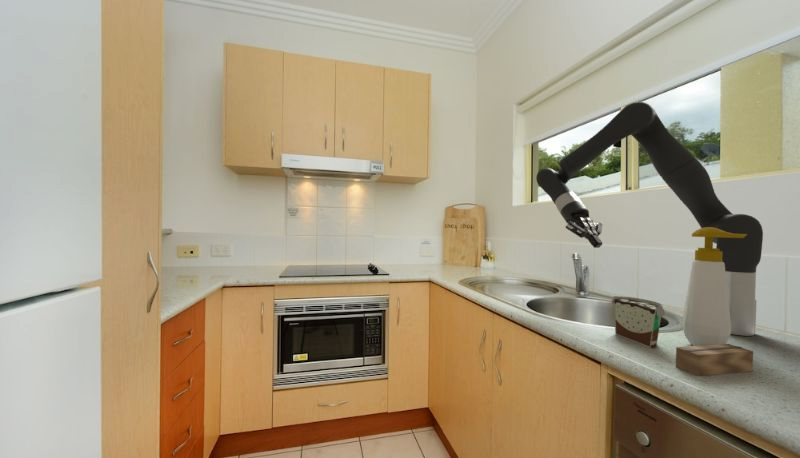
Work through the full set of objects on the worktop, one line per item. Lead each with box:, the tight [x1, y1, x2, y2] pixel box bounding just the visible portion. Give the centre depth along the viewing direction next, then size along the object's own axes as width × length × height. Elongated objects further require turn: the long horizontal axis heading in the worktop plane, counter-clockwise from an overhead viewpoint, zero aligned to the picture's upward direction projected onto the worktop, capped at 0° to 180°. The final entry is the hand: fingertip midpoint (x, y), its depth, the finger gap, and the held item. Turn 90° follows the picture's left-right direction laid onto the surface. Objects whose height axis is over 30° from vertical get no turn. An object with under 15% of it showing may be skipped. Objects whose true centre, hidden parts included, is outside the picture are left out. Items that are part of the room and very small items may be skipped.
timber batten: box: [675, 343, 754, 377], centre depth 63 cm, size 14×4×4 cm, turn 102°
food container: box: [611, 295, 666, 349], centre depth 79 cm, size 12×6×10 cm, turn 12°
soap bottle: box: [681, 227, 747, 346], centre depth 74 cm, size 13×10×29 cm
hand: (598, 246), depth 96 cm, fingers closed
